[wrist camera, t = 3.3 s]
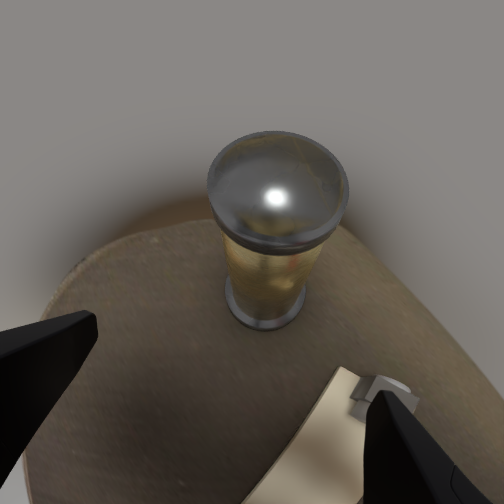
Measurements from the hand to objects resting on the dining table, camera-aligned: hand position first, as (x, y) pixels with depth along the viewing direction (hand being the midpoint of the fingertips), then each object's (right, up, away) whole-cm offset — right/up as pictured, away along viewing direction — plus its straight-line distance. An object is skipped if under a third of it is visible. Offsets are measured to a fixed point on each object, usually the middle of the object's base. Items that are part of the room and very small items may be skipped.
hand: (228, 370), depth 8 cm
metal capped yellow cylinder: (+2, 0, +14) cm, 14 cm away
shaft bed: (+6, -12, +8) cm, 15 cm away
